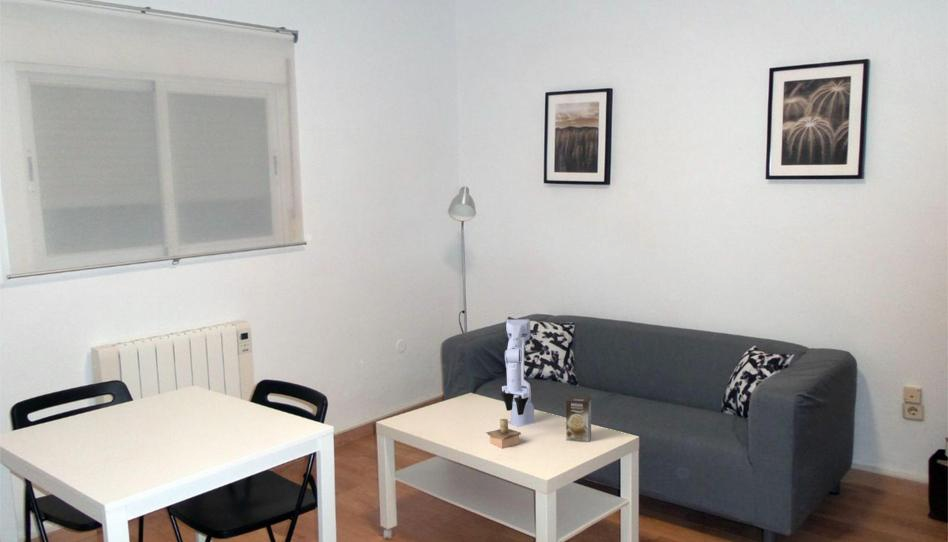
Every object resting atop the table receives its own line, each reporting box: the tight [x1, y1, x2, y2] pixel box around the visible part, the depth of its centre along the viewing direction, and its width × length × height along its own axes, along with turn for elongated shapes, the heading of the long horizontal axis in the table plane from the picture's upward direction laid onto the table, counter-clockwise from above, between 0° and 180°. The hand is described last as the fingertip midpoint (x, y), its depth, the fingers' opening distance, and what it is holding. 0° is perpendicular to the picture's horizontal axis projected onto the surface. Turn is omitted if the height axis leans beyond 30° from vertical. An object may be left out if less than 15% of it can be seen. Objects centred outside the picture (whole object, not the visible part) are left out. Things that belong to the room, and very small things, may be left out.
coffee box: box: [565, 396, 592, 443], centre depth 300 cm, size 9×6×16 cm
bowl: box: [489, 435, 520, 450], centre depth 296 cm, size 8×8×4 cm
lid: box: [487, 418, 522, 440], centre depth 296 cm, size 9×9×6 cm
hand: (514, 412), depth 303 cm, fingers open, 7 cm apart
